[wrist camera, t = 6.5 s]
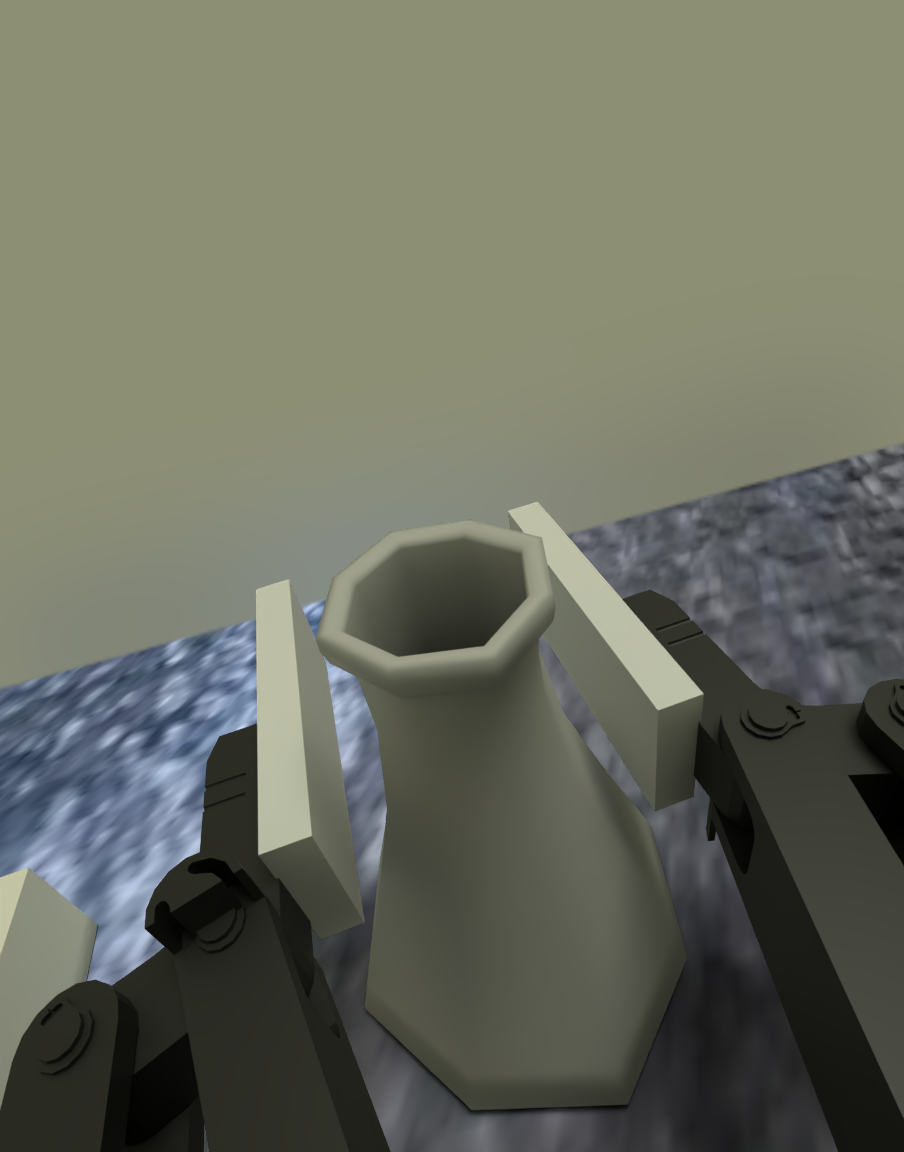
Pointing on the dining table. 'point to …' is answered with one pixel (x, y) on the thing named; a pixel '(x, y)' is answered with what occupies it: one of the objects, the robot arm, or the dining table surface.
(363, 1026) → the dining table surface
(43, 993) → the box
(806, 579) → the dining table surface
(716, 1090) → the dining table surface
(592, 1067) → the flask
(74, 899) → the dining table surface
